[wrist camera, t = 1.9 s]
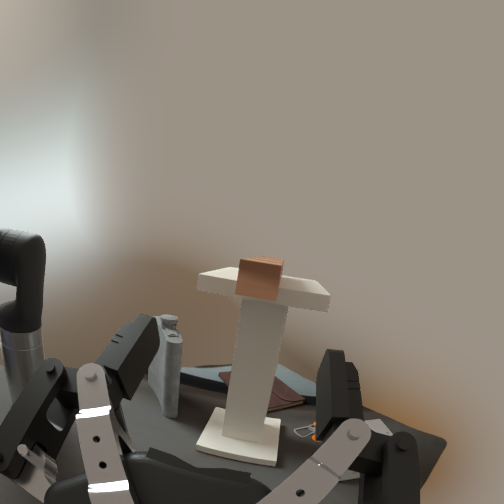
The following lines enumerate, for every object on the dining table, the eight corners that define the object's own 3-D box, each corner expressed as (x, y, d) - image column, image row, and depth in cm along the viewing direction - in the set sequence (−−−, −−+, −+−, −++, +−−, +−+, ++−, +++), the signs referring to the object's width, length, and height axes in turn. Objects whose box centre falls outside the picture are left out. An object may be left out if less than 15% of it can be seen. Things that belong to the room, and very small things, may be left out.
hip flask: (147, 380, 58) (150, 305, 58) (162, 380, 60) (167, 306, 60) (165, 418, 45) (169, 330, 44) (183, 416, 47) (190, 330, 47)
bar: (275, 301, 23) (281, 265, 23) (234, 294, 23) (240, 259, 23) (281, 276, 46) (284, 259, 46) (261, 273, 47) (263, 256, 47)
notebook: (252, 416, 52) (253, 409, 52) (218, 377, 70) (219, 371, 70) (304, 404, 60) (306, 398, 60) (264, 372, 77) (265, 367, 77)
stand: (279, 482, 31) (330, 295, 31) (182, 461, 33) (198, 273, 33) (283, 425, 49) (316, 280, 49) (210, 411, 51) (230, 266, 51)
